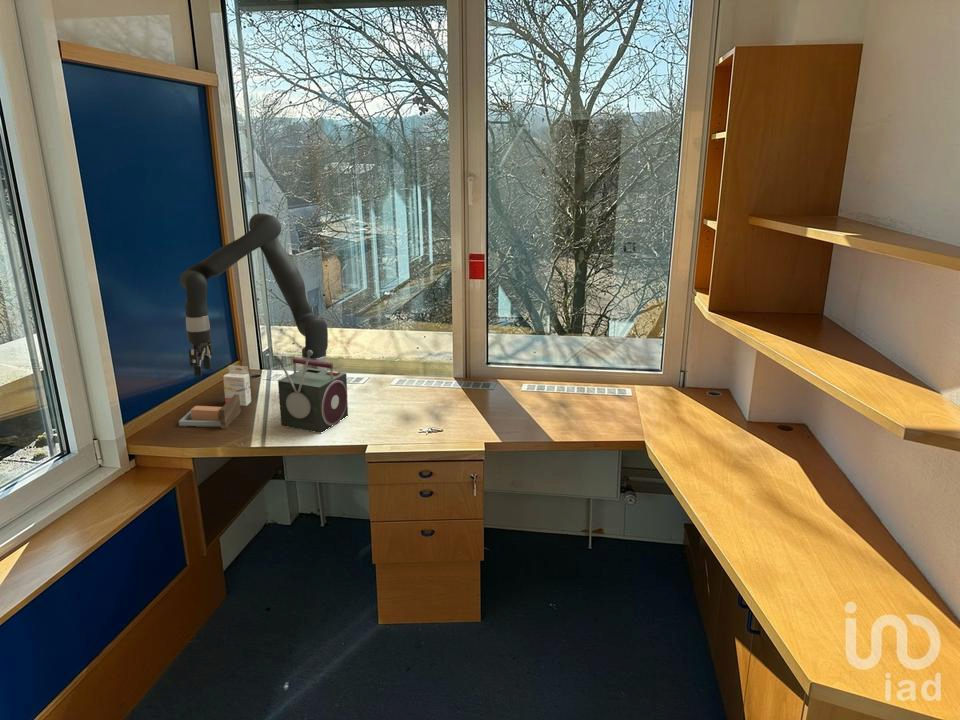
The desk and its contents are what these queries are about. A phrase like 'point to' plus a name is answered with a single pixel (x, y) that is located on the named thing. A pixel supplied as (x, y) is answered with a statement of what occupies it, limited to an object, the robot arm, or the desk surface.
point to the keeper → (197, 422)
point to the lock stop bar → (205, 413)
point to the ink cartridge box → (237, 384)
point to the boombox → (312, 396)
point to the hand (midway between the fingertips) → (203, 372)
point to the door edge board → (230, 411)
